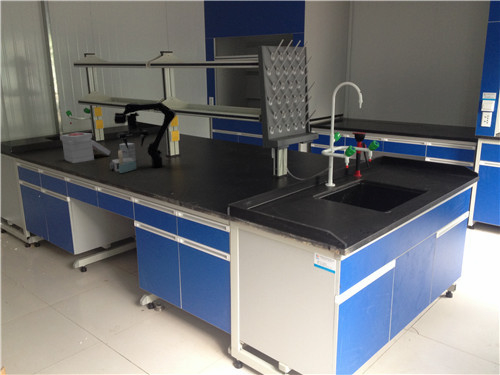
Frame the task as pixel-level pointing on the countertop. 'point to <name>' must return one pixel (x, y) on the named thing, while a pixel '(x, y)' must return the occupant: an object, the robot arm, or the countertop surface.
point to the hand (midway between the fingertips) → (134, 147)
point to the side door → (125, 164)
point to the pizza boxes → (80, 147)
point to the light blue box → (115, 163)
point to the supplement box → (128, 150)
